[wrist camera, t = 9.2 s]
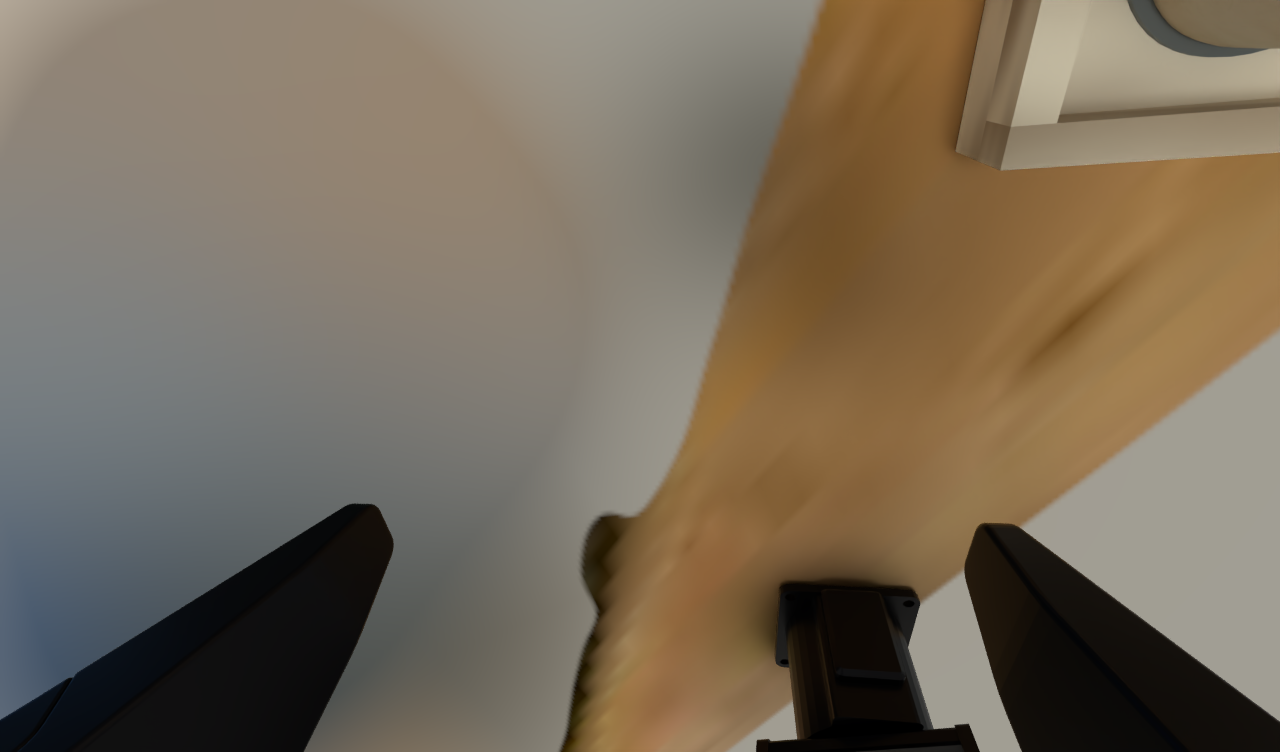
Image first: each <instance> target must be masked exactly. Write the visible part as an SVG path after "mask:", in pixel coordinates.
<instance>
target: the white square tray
mask: <svg viewBox="0 0 1280 752" xmlns="http://www.w3.org/2000/svg"><path fill="white" fill-rule="evenodd" d="M955 152H958V153H960V154H962V155H965V156H967V157H969V158H972V159H974V160H977V161H979V162H981V163H984V164H986V165H988V166H991V167H993V168H996V169H998V170H1015V169H1031V168H1046V167H1062V166H1077V165H1093V164H1108V163H1124V162H1140V161H1155V160H1171V159H1186V158H1202V157H1217V156H1233V155H1248V154H1264V153H1279V152H1280V49H1262V48H1233V47H1220V46H1216V45H1211V44H1207V43H1203V42H1200V41H1196V40H1194V39H1192V38H1189V37H1187V36H1185V35H1183V34H1181V33H1180V32H1178V31H1177V30H1176V29H1174V28H1173V27H1172V26H1171V25H1170V24H1169V23H1168V22H1167V21H1166V20H1165V19H1164V18H1163V17H1162V15H1161V14H1160V12H1159V10H1158V9H1157V7H1156V5H1155V3H1154V0H986V1H985V6H984V11H983V16H982V21H981V26H980V31H979V36H978V41H977V46H976V51H975V56H974V61H973V66H972V71H971V76H970V81H969V86H968V91H967V96H966V101H965V106H964V111H963V116H962V121H961V126H960V131H959V136H958V141H957V146H956V151H955Z"/></svg>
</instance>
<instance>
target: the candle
mask: <svg viewBox="0 0 1280 752" xmlns="http://www.w3.org/2000/svg"><path fill="white" fill-rule="evenodd" d="M1154 3H1155V5H1156V7H1157V9H1158V10H1159V12H1160V14H1161V15H1162V17H1163V18H1164V19H1165V20H1166V21H1167V22H1168V23H1169V24H1170V25H1171V26H1172V27H1173V28H1174V29H1176V30H1177V31H1178V32H1180V33H1181V34H1183V35H1185V36H1187V37H1189V38H1192V39H1194V40H1196V41H1200V42H1203V43H1207V44H1211V45H1216V46H1220V47H1233V48H1262V49H1280V0H1154Z"/></svg>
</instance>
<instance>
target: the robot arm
mask: <svg viewBox="0 0 1280 752" xmlns="http://www.w3.org/2000/svg"><path fill="white" fill-rule="evenodd" d="M393 545H394V543H393V538H392V535H391V533H390V531H389V529H388V527H387V524H386V522H385V520H384V518H383V516H382V514H381V512H380V510H379V508H378V507H376V506H375V505H373V504H349V505H347V506H345V507H343V508H341V509H340V510H338V511H337V512H335V513H333V514H332V515H331V516H329V517H327V518H325V519H324V520H322V521H321V522H319V523H317V524H316V525H314V526H313V527H311V528H309V529H308V530H306V531H304V532H303V533H301V534H300V535H298V536H296V537H295V538H293V539H291V540H290V541H288V542H287V543H285V544H283V545H282V546H280V547H279V548H277V549H275V550H274V551H273V552H271V553H269V554H267V555H266V556H264V557H262V558H261V559H259V560H258V561H256V562H255V563H253V564H252V565H250V566H248V567H246V568H245V569H243V570H242V571H240V572H239V573H237V574H235V575H234V576H232V577H230V578H229V579H227V580H225V581H224V582H222V583H221V584H219V585H217V586H216V587H214V588H213V589H211V590H209V591H208V592H206V593H205V594H203V595H201V596H200V597H198V598H196V599H195V600H193V601H192V602H190V603H188V604H187V605H185V606H184V607H182V608H181V609H179V610H177V611H176V612H174V613H172V614H171V615H169V616H167V617H166V618H164V619H163V620H161V621H160V622H158V623H156V624H155V625H153V626H151V627H150V628H148V629H147V630H145V631H143V632H142V633H140V634H139V635H137V636H135V637H134V638H132V639H130V640H129V641H127V642H126V643H124V644H123V645H121V646H119V647H118V648H116V649H114V650H113V651H111V652H110V653H108V654H106V655H105V656H103V657H101V658H100V659H98V660H97V661H95V662H93V663H92V664H90V665H89V666H87V667H85V668H84V669H82V670H81V671H79V672H77V674H75V676H74V677H73V678H68V679H66V680H64V681H63V682H61V683H59V684H58V685H56V686H55V687H53V688H51V689H50V690H48V691H47V692H45V693H43V694H42V695H40V696H39V697H37V698H36V699H34V700H32V701H31V702H29V703H27V704H26V705H24V706H22V707H21V708H19V709H17V710H16V711H14V712H13V713H11V714H9V715H8V716H6V717H4V718H3V719H1V720H0V752H304V750H305V749H306V746H307V744H308V742H309V740H310V738H311V736H312V734H313V732H314V730H315V728H316V726H317V724H318V722H319V720H320V718H321V716H322V714H323V712H324V710H325V708H326V706H327V704H328V702H329V700H330V698H331V696H332V694H333V692H334V690H335V688H336V686H337V684H338V682H339V680H340V678H341V676H342V674H343V672H344V670H345V668H346V666H347V664H348V662H349V660H350V658H351V656H352V654H353V651H354V649H355V647H356V645H357V643H358V640H359V637H360V635H361V633H362V631H363V628H364V626H365V623H366V620H367V618H368V615H369V613H370V610H371V607H372V605H373V602H374V600H375V597H376V595H377V592H378V589H379V587H380V584H381V582H382V579H383V576H384V574H385V571H386V569H387V566H388V564H389V561H390V558H391V556H392V552H393ZM964 570H965V579H966V583H967V586H968V590H969V593H970V597H971V600H972V604H973V607H974V611H975V614H976V617H977V621H978V625H979V628H980V632H981V635H982V639H983V642H984V645H985V649H986V652H987V656H988V659H989V663H990V666H991V670H992V673H993V677H994V679H995V683H996V686H997V689H998V692H999V695H1000V697H1001V700H1002V703H1003V706H1004V709H1005V711H1006V714H1007V716H1008V719H1009V721H1010V724H1011V726H1012V729H1013V731H1014V733H1015V736H1016V739H1017V741H1018V743H1019V746H1020V748H1021V750H1022V752H1280V721H1278V720H1277V719H1276V718H1274V717H1273V716H1271V715H1270V714H1269V713H1268V712H1266V711H1265V710H1263V709H1262V708H1261V707H1259V706H1258V705H1257V704H1255V703H1254V702H1253V701H1251V700H1250V699H1249V698H1247V697H1246V696H1245V695H1243V694H1242V693H1241V692H1239V691H1238V690H1237V689H1235V688H1234V687H1233V686H1231V685H1230V684H1229V683H1227V682H1226V681H1225V680H1223V679H1222V678H1221V677H1219V676H1218V675H1216V674H1215V673H1214V672H1213V671H1211V670H1210V669H1208V668H1207V667H1206V666H1205V665H1203V664H1202V663H1201V662H1199V661H1198V660H1197V659H1195V658H1194V657H1192V656H1191V655H1190V654H1188V653H1187V652H1186V651H1184V650H1183V649H1182V648H1180V647H1179V646H1178V645H1176V644H1175V643H1174V642H1172V641H1171V640H1170V639H1168V638H1167V637H1166V636H1164V635H1163V634H1162V633H1160V632H1159V631H1158V630H1156V629H1155V628H1153V627H1152V626H1151V625H1149V624H1148V623H1147V622H1145V621H1144V620H1143V619H1142V618H1140V617H1139V616H1138V615H1136V614H1135V613H1134V612H1132V611H1131V610H1129V609H1128V608H1127V607H1125V606H1124V605H1123V604H1121V603H1120V602H1119V601H1117V600H1116V599H1115V598H1113V597H1112V596H1111V595H1109V594H1108V593H1107V592H1105V591H1104V590H1103V589H1101V588H1100V587H1098V586H1097V585H1096V584H1095V583H1093V582H1092V581H1091V580H1089V579H1088V578H1087V577H1085V576H1084V575H1083V574H1081V573H1080V572H1078V571H1077V570H1076V569H1074V568H1073V567H1072V566H1071V565H1069V564H1067V563H1066V562H1065V561H1064V560H1062V559H1061V558H1060V557H1058V556H1057V555H1056V554H1054V553H1053V552H1052V551H1050V550H1049V549H1048V548H1046V547H1045V546H1044V545H1042V544H1041V543H1040V542H1038V541H1037V540H1036V539H1034V538H1033V537H1032V536H1030V535H1029V534H1028V533H1026V532H1025V531H1024V530H1022V529H1021V528H1019V527H1018V526H1015V525H1013V524H1004V523H983V524H980V525H979V526H978V527H977V529H976V531H975V534H974V537H973V540H972V543H971V546H970V549H969V552H968V555H967V558H966V561H965V568H964ZM919 606H920V601H919V598H918V595H917V594H916V592H914V591H912V590H901V589H881V588H861V587H841V586H821V585H801V584H785V585H783V586H781V587H780V589H779V601H778V616H777V630H776V644H775V661H776V664H777V665H779V666H781V667H789V669H790V678H791V687H792V696H793V705H794V714H795V722H796V732H797V740H796V739H795V740H782V741H770V740H769V739H764V740H757V745H756V752H980V751H979V749H978V746H977V744H976V741H975V738H974V736H973V733H972V731H971V728H970V726H969V724H960V725H955V728H943V729H933V726H932V722H931V719H930V716H929V713H928V710H927V707H926V703H925V700H924V697H923V694H922V691H921V688H920V685H919V681H918V678H917V675H916V672H915V669H914V666H913V662H912V659H911V656H910V653H909V650H908V645H909V641H910V638H911V634H912V631H913V628H914V624H915V620H916V617H917V613H918V610H919Z"/></svg>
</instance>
